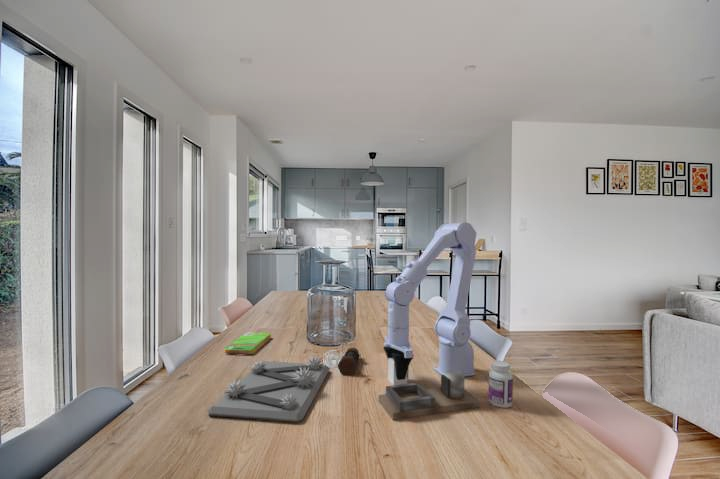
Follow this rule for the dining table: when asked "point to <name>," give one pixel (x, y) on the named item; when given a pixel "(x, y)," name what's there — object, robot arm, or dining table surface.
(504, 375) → the pill bottle
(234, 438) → the dining table surface
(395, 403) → the brown board with socket
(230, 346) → the game box
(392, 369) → the white block
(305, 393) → the grey spiky zigzag board
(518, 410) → the dining table surface
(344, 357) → the bolt
